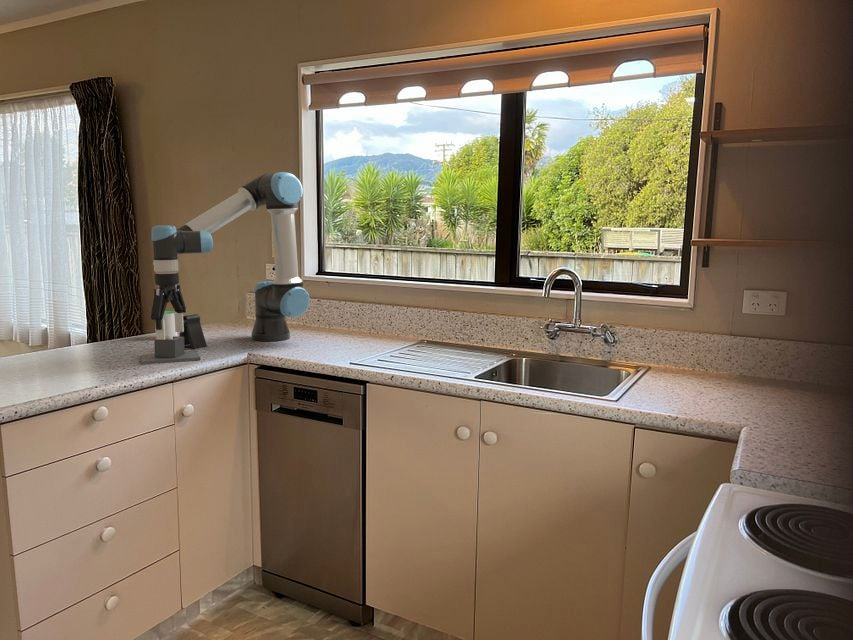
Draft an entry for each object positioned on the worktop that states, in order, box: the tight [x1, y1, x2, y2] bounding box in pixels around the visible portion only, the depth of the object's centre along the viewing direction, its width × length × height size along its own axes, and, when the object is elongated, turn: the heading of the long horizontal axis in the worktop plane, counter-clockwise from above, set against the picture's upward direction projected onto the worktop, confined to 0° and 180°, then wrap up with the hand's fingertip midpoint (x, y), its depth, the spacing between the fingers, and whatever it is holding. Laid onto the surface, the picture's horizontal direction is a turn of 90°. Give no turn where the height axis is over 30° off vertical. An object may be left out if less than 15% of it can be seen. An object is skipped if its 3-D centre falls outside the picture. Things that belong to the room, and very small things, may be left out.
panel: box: [139, 335, 201, 365], centre depth 212 cm, size 18×12×8 cm, turn 116°
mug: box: [154, 310, 179, 337], centre depth 252 cm, size 12×8×10 cm, turn 175°
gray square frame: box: [153, 335, 185, 358], centre depth 212 cm, size 7×7×6 cm
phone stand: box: [178, 313, 208, 351], centre depth 233 cm, size 9×6×12 cm, turn 63°
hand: (170, 335), depth 212 cm, fingers open, 13 cm apart
